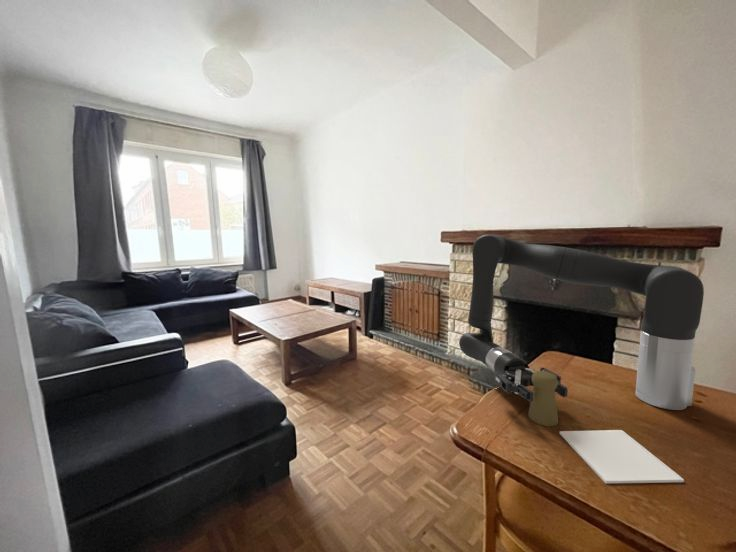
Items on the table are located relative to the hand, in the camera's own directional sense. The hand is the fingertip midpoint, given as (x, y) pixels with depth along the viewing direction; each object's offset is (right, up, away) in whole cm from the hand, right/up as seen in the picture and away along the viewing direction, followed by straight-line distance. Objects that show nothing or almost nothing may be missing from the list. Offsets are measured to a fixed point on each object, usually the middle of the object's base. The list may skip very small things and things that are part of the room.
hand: (549, 395), depth 67 cm
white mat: (+7, -8, -10) cm, 14 cm away
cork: (0, -6, +2) cm, 7 cm away
